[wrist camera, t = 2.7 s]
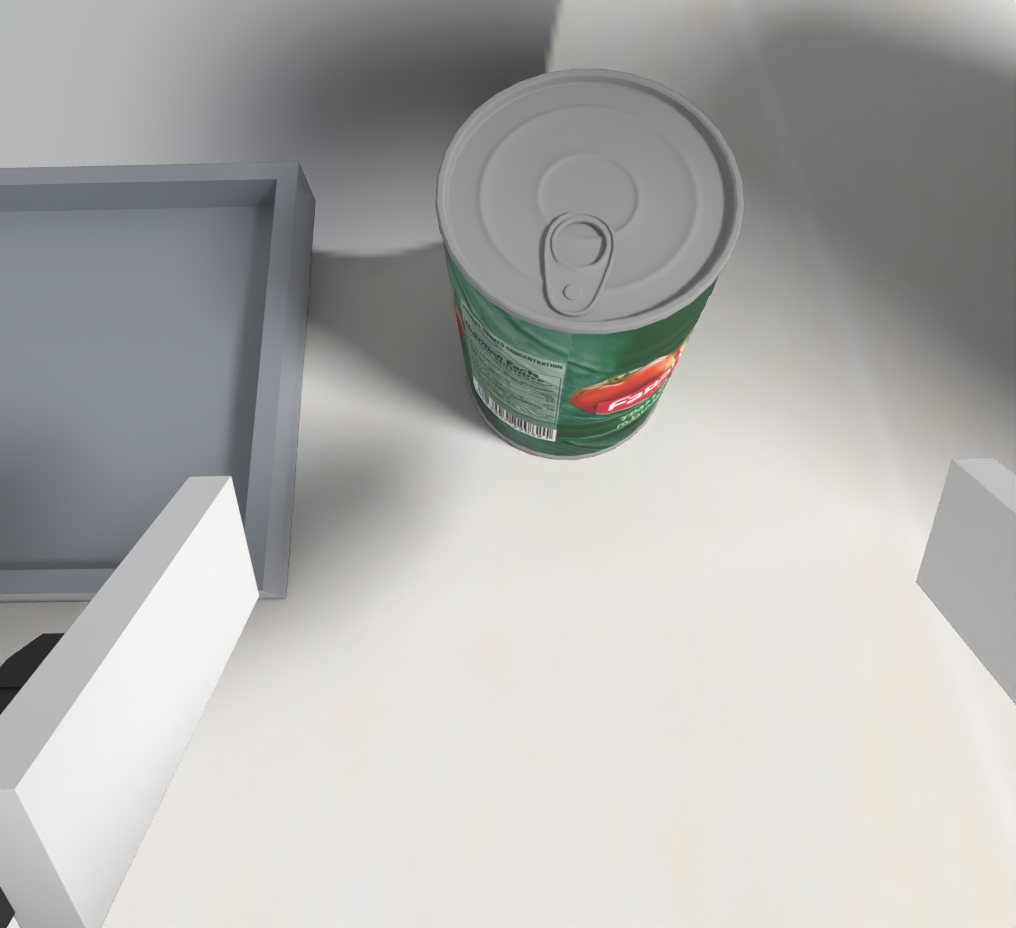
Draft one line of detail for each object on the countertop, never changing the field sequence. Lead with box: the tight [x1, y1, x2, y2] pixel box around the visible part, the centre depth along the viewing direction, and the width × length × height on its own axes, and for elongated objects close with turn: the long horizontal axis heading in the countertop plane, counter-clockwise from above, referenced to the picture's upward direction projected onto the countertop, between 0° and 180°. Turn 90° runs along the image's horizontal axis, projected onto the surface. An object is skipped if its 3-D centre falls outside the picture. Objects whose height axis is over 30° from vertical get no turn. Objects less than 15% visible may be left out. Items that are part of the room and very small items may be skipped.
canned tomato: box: [436, 69, 744, 460], centre depth 24 cm, size 8×8×11 cm
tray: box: [0, 162, 315, 603], centre depth 28 cm, size 17×17×2 cm
